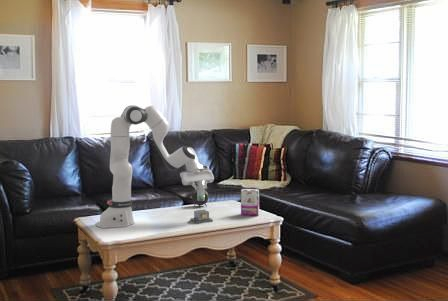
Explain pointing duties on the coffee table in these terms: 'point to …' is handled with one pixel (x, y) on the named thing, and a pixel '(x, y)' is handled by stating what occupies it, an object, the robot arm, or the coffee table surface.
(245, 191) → the candy bar box
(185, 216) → the coffee table surface
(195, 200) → the alarm clock
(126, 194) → the robot arm
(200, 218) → the stand
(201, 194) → the column
